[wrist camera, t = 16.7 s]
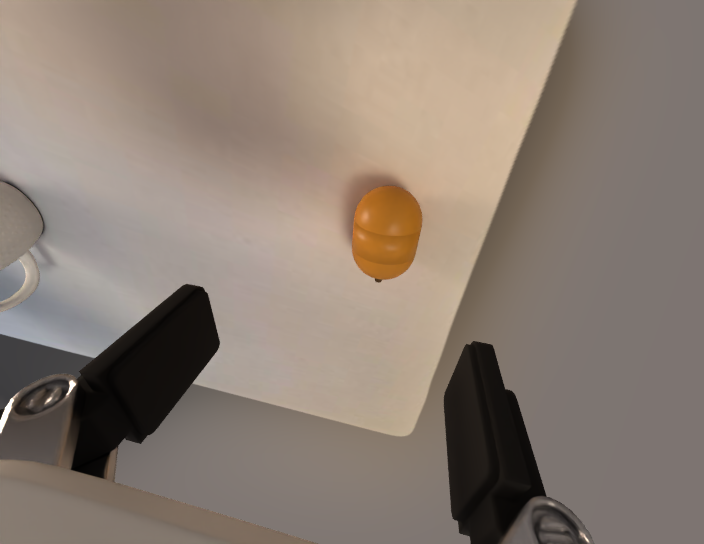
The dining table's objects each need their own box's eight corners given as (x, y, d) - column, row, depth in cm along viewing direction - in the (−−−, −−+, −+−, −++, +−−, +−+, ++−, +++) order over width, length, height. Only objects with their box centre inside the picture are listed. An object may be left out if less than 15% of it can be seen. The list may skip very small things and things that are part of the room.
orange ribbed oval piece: (363, 173, 23) (350, 193, 19) (428, 182, 23) (429, 204, 18) (356, 255, 28) (343, 286, 23) (410, 264, 27) (408, 298, 23)
